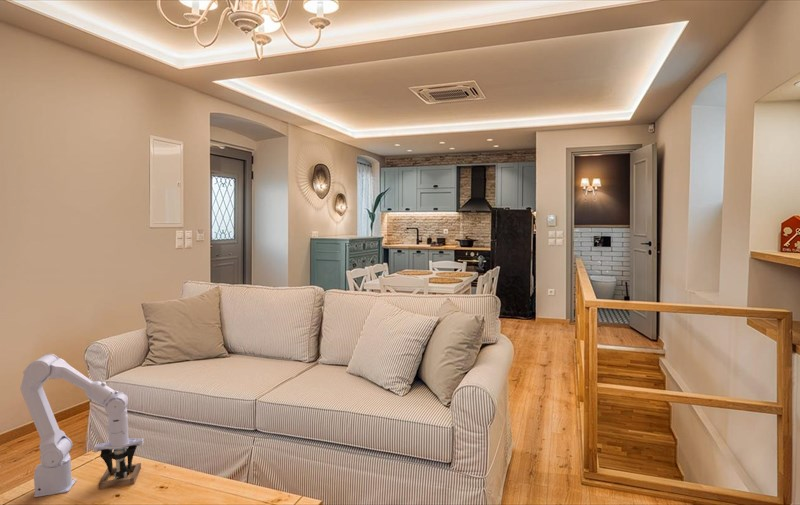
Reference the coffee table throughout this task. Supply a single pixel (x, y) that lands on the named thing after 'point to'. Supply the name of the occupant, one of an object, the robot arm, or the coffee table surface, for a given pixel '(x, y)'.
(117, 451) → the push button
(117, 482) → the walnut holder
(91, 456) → the coffee table surface
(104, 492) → the coffee table surface
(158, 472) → the coffee table surface
